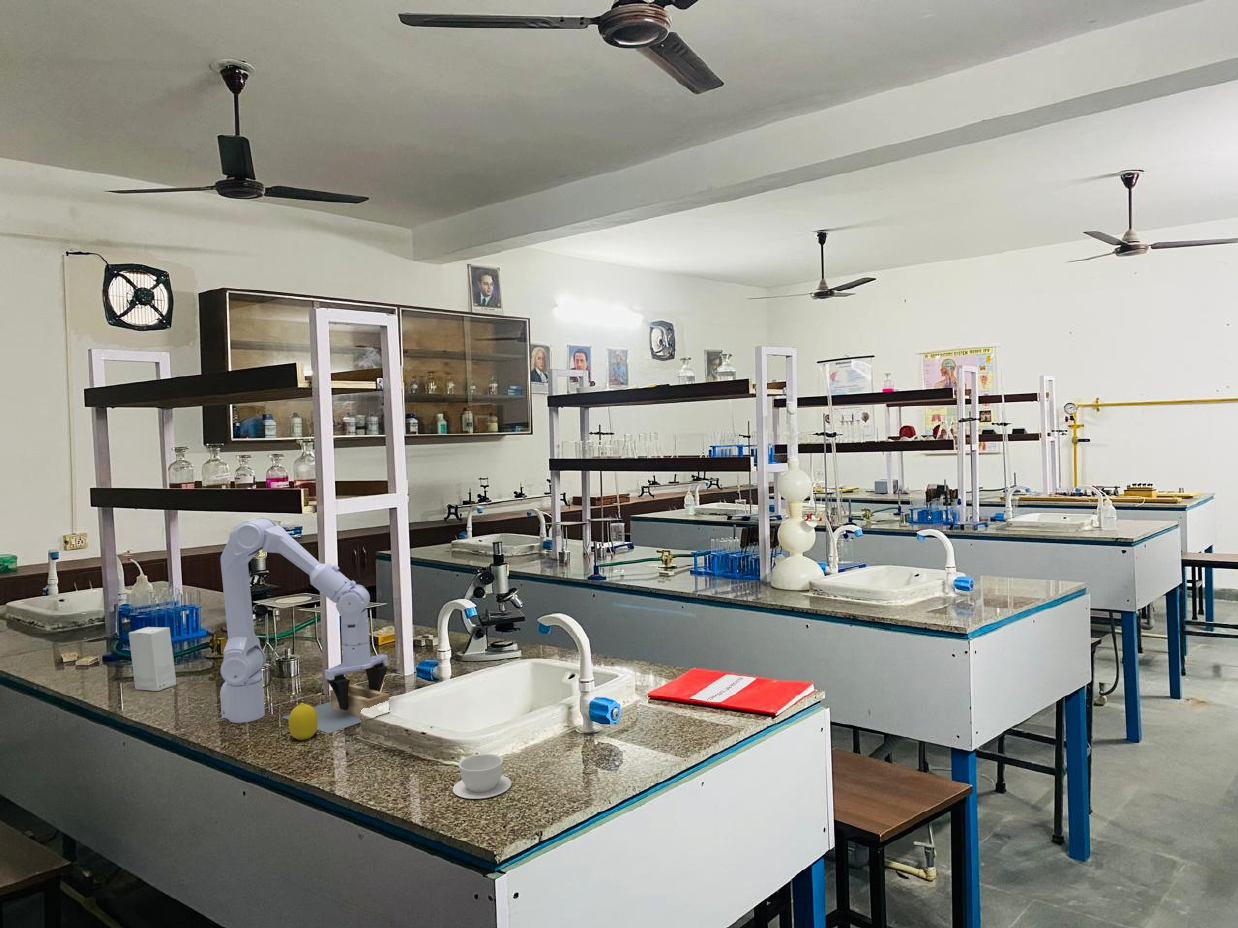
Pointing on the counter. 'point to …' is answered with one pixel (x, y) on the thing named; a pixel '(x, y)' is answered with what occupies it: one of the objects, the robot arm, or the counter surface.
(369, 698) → the open wooden crate
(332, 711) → the board
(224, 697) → the robot arm
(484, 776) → the teacup
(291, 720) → the lemon
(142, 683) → the skincare box
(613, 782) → the counter surface
